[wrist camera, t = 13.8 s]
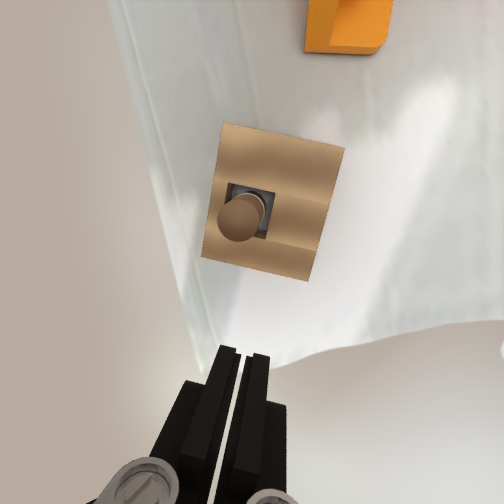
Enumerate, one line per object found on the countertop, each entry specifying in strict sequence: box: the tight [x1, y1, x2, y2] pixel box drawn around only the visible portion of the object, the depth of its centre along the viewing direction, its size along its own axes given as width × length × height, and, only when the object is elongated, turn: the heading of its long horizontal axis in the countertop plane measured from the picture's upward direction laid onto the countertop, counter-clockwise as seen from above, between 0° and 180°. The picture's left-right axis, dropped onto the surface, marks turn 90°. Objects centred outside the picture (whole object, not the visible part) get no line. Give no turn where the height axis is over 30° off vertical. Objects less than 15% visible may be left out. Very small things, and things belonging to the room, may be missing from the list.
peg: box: [217, 191, 266, 242], centre depth 31 cm, size 4×4×10 cm
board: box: [201, 122, 345, 282], centre depth 33 cm, size 14×12×4 cm
